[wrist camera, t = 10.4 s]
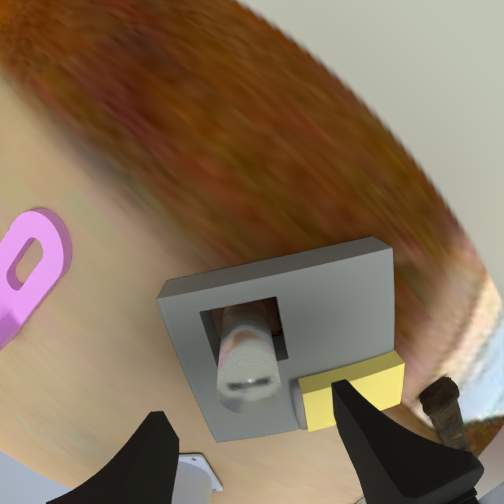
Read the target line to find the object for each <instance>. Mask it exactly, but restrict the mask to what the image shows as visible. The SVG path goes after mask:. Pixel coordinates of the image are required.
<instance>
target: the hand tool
mask: <svg viewBox="0 0 504 504" xmlns="http://www.w3.org/2000/svg"><path fill="white" fill-rule="evenodd" d="M458 397H459V390H458V386H457V385H456V384H455V382H454V381H452V380H451V378H449V377H441V378H440V379H439V380H438V381H436V382H435V383H433V384H432V385H430V386H429V387H428V388H426V389H425V390H424V391H423V392H422V393H421V395H420V402H421V403H422V404H423V411H424V412H425V413H426V414H427V415H428V416H430V418H431V420H432V423H433V426H435V428H436V432H437V434H438V435H439V436H440V438H441V440H442V443H443V445H444V446H448V447H451V448H455V449H459V450H464V451H468V452H470V447H469V445H468V443H467V441H466V437H465V431H464V425H463V420H462V416H461V411H460V408H459V404H458V401H457V398H458Z"/></svg>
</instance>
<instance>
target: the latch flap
mask: <svg viewBox="0 0 504 504" xmlns="http://www.w3.org/2000/svg"><path fill="white" fill-rule="evenodd" d="M404 365H405V363H404V362H403V360H402V359H401V358H400V357H399V355H398V354H397V353H396V352H395V351H392V352H389V353H386V354H383V355H380V356H377V357H374V358H371V359H368V360H365V361H362V362H358V363H355V364H352V365H348V366H345V367H341V368H338V369H334V370H331V371H327V372H323V373H319V374H315V375H311V376H307V377H303V378H299V379H298V382H295V383H294V384H292V385H291V392H292V397H293V402H294V407H295V412H296V418H297V423H298V427H299V428H300V429H302V430H306V429H308V432H311V431H315V430H319V429H322V428H326V427H330V426H334V425H336V421H335V418H334V415H333V401H332V388H331V383H332V382H336V381H340V380H343V379H346V380H348V381H349V382H350V383H351V385H352V386H353V387H354V388H355V389H356V390H357V391H358V392H359V393H360V394H361V395H362V396H363V397H364V398H366V399H367V400H368V401H369V402H370V403H371V404H372V405H374V406H375V407H376V408H377V409H378V410H380V411H381V410H384V409H386V408H389V407H392V406H394V405H397V404H400V400H401V393H402V385H403V375H404Z"/></svg>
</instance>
